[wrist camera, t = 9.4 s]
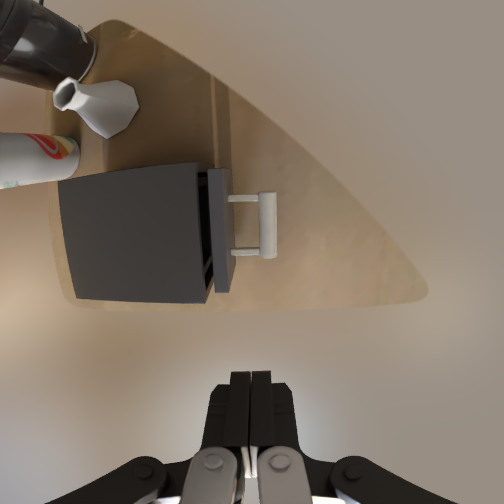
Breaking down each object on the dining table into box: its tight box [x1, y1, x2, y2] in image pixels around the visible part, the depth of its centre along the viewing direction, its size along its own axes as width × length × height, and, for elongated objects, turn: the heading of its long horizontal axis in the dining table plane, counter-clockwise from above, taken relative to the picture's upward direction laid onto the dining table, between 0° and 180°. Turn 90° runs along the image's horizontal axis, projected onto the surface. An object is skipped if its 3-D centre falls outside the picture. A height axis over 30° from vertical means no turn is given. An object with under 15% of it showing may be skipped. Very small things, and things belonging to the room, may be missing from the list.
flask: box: [53, 77, 139, 139], centre depth 22 cm, size 7×7×10 cm
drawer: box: [198, 168, 277, 293], centre depth 26 cm, size 17×10×8 cm, turn 92°
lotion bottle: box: [0, 132, 80, 189], centre depth 19 cm, size 6×6×20 cm
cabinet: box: [58, 162, 215, 304], centre depth 26 cm, size 14×12×10 cm
